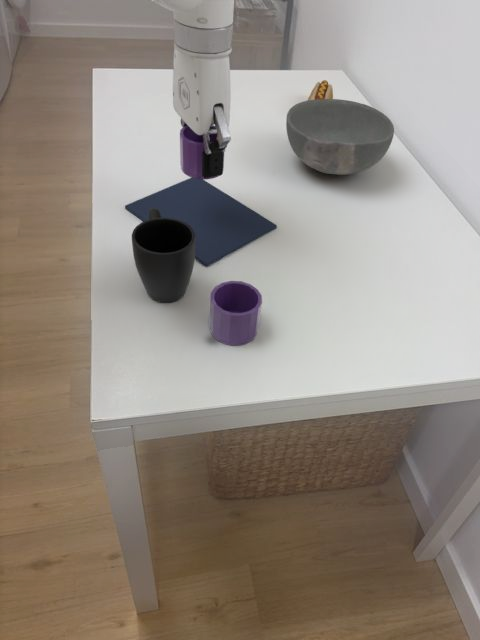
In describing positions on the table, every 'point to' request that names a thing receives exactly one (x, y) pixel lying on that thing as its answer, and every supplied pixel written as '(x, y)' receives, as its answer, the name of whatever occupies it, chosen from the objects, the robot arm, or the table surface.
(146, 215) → the placemat
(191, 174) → the ramekin
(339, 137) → the bowl
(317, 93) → the food
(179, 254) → the mug
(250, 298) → the ramekin
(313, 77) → the table surface
